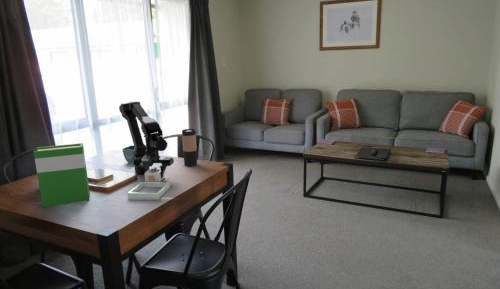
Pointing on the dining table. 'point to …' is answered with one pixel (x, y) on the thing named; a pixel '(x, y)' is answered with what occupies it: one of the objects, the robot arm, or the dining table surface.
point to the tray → (148, 196)
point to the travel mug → (189, 147)
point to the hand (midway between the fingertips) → (154, 177)
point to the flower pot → (128, 153)
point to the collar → (153, 176)
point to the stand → (156, 172)
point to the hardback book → (62, 174)
